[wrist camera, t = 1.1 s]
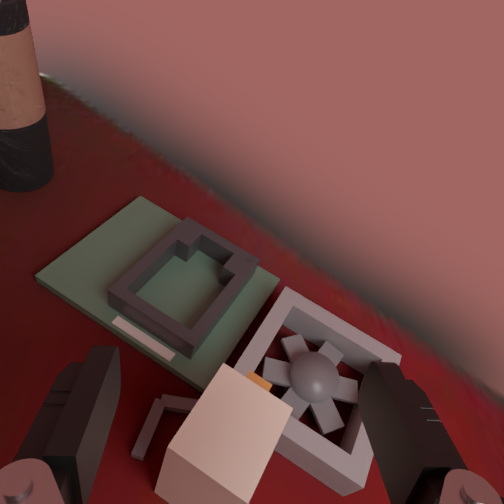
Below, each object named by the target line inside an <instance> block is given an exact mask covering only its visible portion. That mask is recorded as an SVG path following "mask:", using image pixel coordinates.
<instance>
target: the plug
mask: <svg viewBox="0 0 504 504" xmlns="http://www.w3.org/2000/svg"><path fill="white" fill-rule="evenodd" d="M271 386H272V384H271V383H269V382H268V381H266V380H264V379H263V378H261V377H260V376H258V375H257V374H255V373H254V372H252V371H251V370H249V372H248V374H247V375H246V377H245V376H243V375H242V374H240V373H239V372H237V371H236V370H234V369H233V368H231V367H229V366H228V365H226V364H225V363H223V364H222V366H221V367H220V369H219V370H218V372H217V373H216V375H215V376H214V378H213V379H212V381H211V382H210V384H209V385H208V387H207V388H206V390H205V391H204V393H203V394H202V396H201V397H200V399H199V400H198V402H197V403H196V405H195V406H194V408H193V409H192V411H191V412H190V414H189V415H188V417H187V418H186V420H185V421H184V423H183V424H182V426H181V427H180V429H179V430H178V432H177V433H176V435H175V436H174V438H173V439H172V441H171V442H170V444H169V445H168V447H167V450H166V453H165V457H164V460H163V464H162V467H161V470H160V474H159V477H158V480H157V484H156V487H155V491H154V492H155V493H156V494H157V495H159V496H160V497H161V498H163V499H164V500H165V501H167V502H168V503H169V504H249V501H250V499H251V497H252V495H253V493H254V491H255V489H256V486H257V484H258V482H259V480H260V478H261V476H262V474H263V472H264V469H265V467H266V465H267V463H268V461H269V459H270V457H271V455H272V452H273V450H274V448H275V446H276V444H277V442H278V440H279V437H280V435H281V433H282V431H283V429H284V427H285V425H286V423H287V420H288V418H289V416H290V414H291V412H292V410H293V408H292V407H291V406H289V405H288V404H286V403H285V402H283V401H281V400H280V399H278V398H277V397H275V396H274V395H272V394H271V393H269V390H270V388H271Z"/></svg>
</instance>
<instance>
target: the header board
mask: <svg viewBox="0 0 504 504" xmlns="http://www.w3.org/2000/svg"><path fill="white" fill-rule="evenodd" d="M259 261H260V259H258V258H256V257H255V256H253V255H251V254H250V253H248V252H246V251H244V250H243V249H241V248H239V247H238V246H236V245H234V244H233V243H231V242H229V241H228V240H226V239H224V238H223V237H221V236H219V235H217V234H216V233H214V232H212V231H211V230H209V229H207V228H206V227H204V226H202V225H201V224H199V223H197V222H196V221H194V220H192V219H190V218H189V217H186V218H185V219H184V220H183V221H182V220H180V219H178V218H177V217H175V216H173V215H172V214H170V213H168V212H167V211H165V210H163V209H162V208H160V207H158V206H157V205H155V204H153V203H152V202H150V201H148V200H147V199H145V198H143V197H142V196H139V197H138V198H137V199H135V200H134V201H133V202H131V203H130V204H129V205H127V206H126V207H125V208H123V209H122V210H121V211H119V212H118V213H117V214H115V215H114V216H113V217H111V218H110V219H109V220H107V221H106V222H105V223H103V224H102V225H101V226H99V227H98V228H97V229H96V230H94V231H93V232H92V233H90V234H89V235H88V236H86V237H85V238H84V239H82V240H81V241H80V242H78V243H77V244H76V245H74V246H73V247H72V248H70V249H69V250H68V251H66V252H65V253H64V254H62V255H61V256H60V257H58V258H57V259H56V260H54V261H53V262H52V263H50V264H49V265H48V266H46V267H45V268H44V269H42V270H41V271H40V272H38V273H37V274H36V275H35V278H36V281H37V283H39V284H40V285H42V286H43V287H45V288H46V289H48V290H49V291H51V292H52V293H54V294H55V295H57V296H58V297H60V298H61V299H63V300H64V301H66V302H67V303H69V304H70V305H72V306H73V307H75V308H76V309H78V310H79V311H80V312H82V313H83V314H85V315H86V316H88V317H89V318H91V319H92V320H94V321H95V322H97V323H98V324H100V325H101V326H103V327H104V328H106V329H107V330H109V331H110V332H112V333H113V334H115V335H116V336H118V337H119V338H120V339H122V340H123V341H125V342H126V343H128V344H129V345H131V346H132V347H134V348H135V349H137V350H138V351H140V352H141V353H143V354H144V355H146V356H147V357H149V358H150V359H152V360H153V361H155V362H156V363H158V364H159V365H161V366H162V367H163V368H165V369H166V370H168V371H169V372H171V373H172V374H174V375H175V376H177V377H178V378H180V379H181V380H183V381H184V382H186V383H187V384H189V385H190V386H192V387H193V388H195V389H196V390H198V391H199V392H201V393H202V394H203V393H204V391H205V390H206V388H207V387H208V385H209V384H210V382H211V381H212V379H213V378H214V376H215V375H216V373H217V372H218V370H219V369H220V367H221V366H222V364H223V363H226V362H227V360H228V359H229V357H230V356H231V354H232V352H233V351H234V349H235V348H236V346H237V345H238V343H239V342H240V340H241V339H242V337H243V336H244V334H245V333H246V331H247V330H248V328H249V327H250V325H251V324H252V322H253V321H254V319H255V318H256V316H257V315H258V313H259V312H260V310H261V309H262V307H263V306H264V304H265V303H266V301H267V300H268V298H269V297H270V295H271V294H272V292H273V291H274V289H275V288H276V286H277V284H278V282H279V280H280V279H279V278H277V277H276V276H274V275H272V274H271V273H269V272H267V271H266V270H264V269H262V268H261V267H259V266H258V263H259Z"/></svg>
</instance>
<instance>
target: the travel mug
mask: <svg viewBox="0 0 504 504" xmlns="http://www.w3.org/2000/svg"><path fill="white" fill-rule="evenodd" d="M53 173H54V169H53V160H52V152H51V145H50V137H49V130H48V122H47V115H46V108H45V103H44V97H43V92H42V86H41V81H40V75H39V70H38V65H37V59H36V54H35V48H34V43H33V37H32V32H31V27H30V21H29V16H28V10H27V5H26V0H0V189H3V190H6V191H11V192H27V191H32V190H35V189H38V188H41V187H43V186H44V185H46V184H47V183H48V182H49V181H50V180H51V179H52V177H53Z"/></svg>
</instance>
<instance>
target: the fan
mask: <svg viewBox="0 0 504 504" xmlns="http://www.w3.org/2000/svg"><path fill="white" fill-rule="evenodd" d="M281 325H284V326H286V327H287V328H289V329H290V330H292V331H294V332H295V333H297V334H298V335H294V336H290V337H286V338H282V339H281V343H282V345H283V347H284V349H285V352H286V354H287V356H288V359H289V361H290V363H288V362H284V361H280V360H276V359H272V358H269V357H265V359H264V366H263V373H262V378H263V379H264V380H266V381H268V382H269V383H273V384H276V385H280V386H283V390H284V393H285V395H284V396H283V397H282V398H281V401H283V402H285V403H286V404H288V405H289V406H291V407H292V408H293V410H292V412H291V414H290V416H289V418H288V420H287V423H286V425H285V427H284V429H283V431H282V433H281V435H280V437H279V440H278V442H277V444H276V446H275V448H274V450H275V451H277V452H278V453H280V454H281V455H282V456H284V457H285V458H287V459H288V460H290V461H291V462H293V463H294V464H296V465H297V466H299V467H300V468H302V469H303V470H305V471H306V472H308V473H309V474H310V475H312V476H313V477H315V478H316V479H318V480H319V481H321V482H322V483H324V484H325V485H327V486H328V487H330V488H331V489H333V490H334V491H336V492H337V493H338V494H340V495H341V496H346V495H348V494H351V493H353V492H356V491H358V490H361V489H363V488H364V486H365V482H366V479H367V475H368V472H369V468H370V465H371V461H372V458H373V454H374V453H373V450H372V448H371V445H370V442H369V439H368V436H367V433H366V430H365V428H364V425H363V422H362V419H361V416H360V413H359V408H358V396H359V392H360V389H361V386H362V384H363V381H364V378H365V375H366V372H367V369H368V367H369V364H370V363H371V362H372V361H377V362H394V363H396V364H397V365H398V366H399V363H400V360H401V356H402V355H400V354H398V353H397V352H395V351H393V350H392V349H390V348H388V347H387V346H385V345H383V344H382V343H380V342H378V341H377V340H375V339H373V338H372V337H370V336H368V335H367V334H365V333H363V332H362V331H360V330H358V329H357V328H355V327H353V326H352V325H350V324H348V323H347V322H345V321H343V320H342V319H340V318H338V317H337V316H335V315H333V314H331V313H330V312H328V311H326V310H325V309H323V308H321V307H320V306H318V305H316V304H315V303H313V302H311V301H310V300H308V299H306V298H305V297H303V296H301V295H300V294H298V293H296V292H295V291H293V290H291V289H290V288H288V287H285V288H284V290H283V291H282V293H281V294H280V296H279V298H278V299H277V301H276V302H275V304H274V305H273V307H272V309H271V310H270V312H269V313H268V315H267V316H266V318H265V320H264V321H263V323H262V324H261V326H260V327H259V329H258V330H257V332H256V334H255V335H254V337H253V338H252V340H251V341H250V343H249V345H248V346H247V348H246V349H245V351H244V352H243V354H242V356H241V357H240V359H239V360H238V362H237V363H236V365H235V367H234V368H233V369H234V370H236V371H237V372H239V373H240V374H242V375H243V376H245V377H246V375H247V374H248V372H249V370H251V371H252V372H254V371H255V369H256V368H257V366H258V364H259V363H260V361H261V359H262V357H263V356H264V354H265V352H266V351H267V349H268V347H269V346H270V344H271V342H272V340H273V339H274V337H275V335H276V334H277V332H278V330H279V329H280V327H281ZM303 338H305V339H307V340H308V341H310V342H311V343H313V344H315V345H316V346H318V347H320V349H319V351H318V352H309V350H308V348H307V345H306V343H305V341H304V339H303ZM340 360H341V361H342V362H344V363H345V364H347V365H349V366H350V367H352V368H354V369H355V370H357V371H358V372H360V373H362V374H363V375H364V377H363V380H362V383H361V386H360V389H359V392H358V381H357V380H353V379H349V378H345V377H341V376H339V374H338V371H337V368H336V366H337V364H338V363H339V362H340ZM332 399H335V400H339V401H343V402H347V403H351V404H354V406H353V409H352V412H351V414H350V417H349V420H348V423H347V426H346V429H345V431H344V434H343V437H342V440H341V443H340V446H339V447H338V446H336V445H335V444H333V443H332V442H330V441H329V440H327V439H326V438H324V437H322V436H321V435H319V434H318V433H316V432H315V431H313V430H312V429H310V428H309V427H307V426H306V425H304V424H303V423H301V422H300V421H298V420H299V418H300V417H301V416H302V414H303V413H304V411H312V414H313V416H314V418H315V420H316V423H317V425H318V427H319V430H320V432H321V434H322V435H324V434H327V433H329V432H332V431H335V430H337V429H340V428H342V427H344V423H343V421H342V419H341V417H340V415H339V413H338V411H337V409H336V407H335V404H334V402H333V400H332ZM197 402H198V400H197V399H191V398H185V397H178V396H172V395H166V394H162V398H161V399H158V398H155V400H154V403H153V405H152V407H151V410H150V412H149V414H148V416H147V419H146V421H145V423H144V425H143V428H142V430H141V432H140V434H139V437H138V439H137V441H136V444H135V446H134V448H133V450H132V453H131V457H133V458H136V459H139V460H142V461H143V459H144V457H145V455H146V452H147V450H148V447H149V445H150V443H151V440H152V438H153V435H154V433H155V430H156V428H157V426H158V423H159V421H160V418H161V416H162V414H163V411H164V410H166V411H172V412H178V413H185V414H190V412H191V411H192V409H193V408H194V406H195V405H196V403H197Z"/></svg>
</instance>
